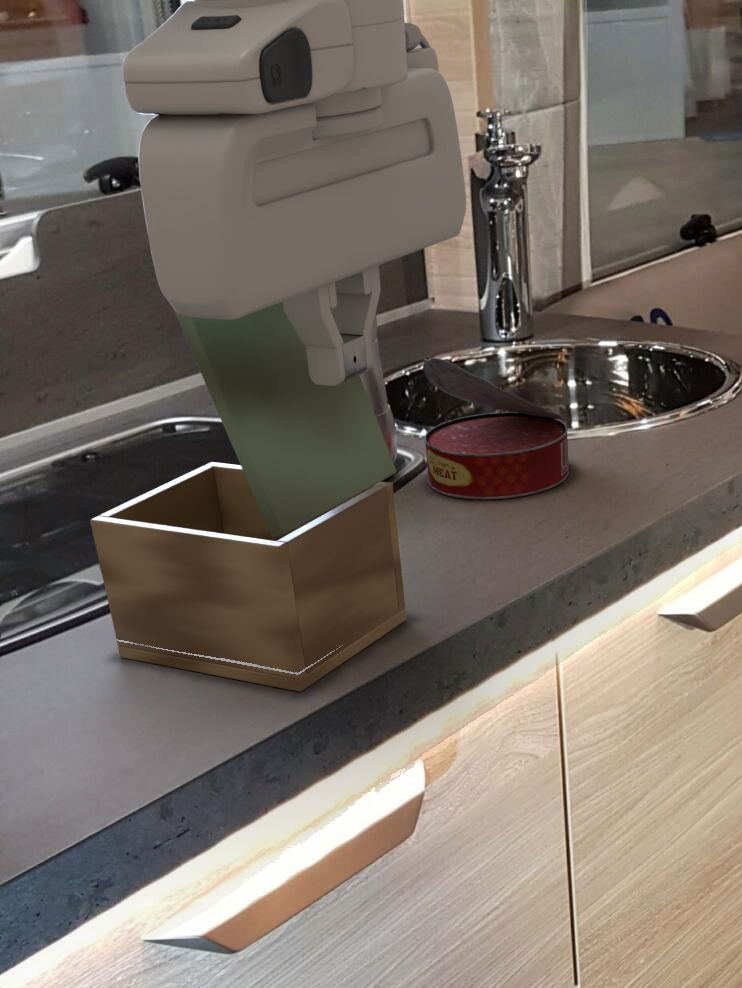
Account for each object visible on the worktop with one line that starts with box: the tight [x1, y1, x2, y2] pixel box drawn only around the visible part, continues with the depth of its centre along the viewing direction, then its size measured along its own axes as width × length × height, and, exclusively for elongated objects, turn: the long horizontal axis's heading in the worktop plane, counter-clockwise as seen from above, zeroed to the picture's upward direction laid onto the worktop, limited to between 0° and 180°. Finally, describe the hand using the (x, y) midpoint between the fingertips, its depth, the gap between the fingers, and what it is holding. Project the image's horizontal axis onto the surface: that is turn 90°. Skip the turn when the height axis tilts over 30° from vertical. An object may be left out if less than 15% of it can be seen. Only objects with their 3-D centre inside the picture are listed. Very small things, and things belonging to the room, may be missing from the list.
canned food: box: [422, 357, 570, 501], centre depth 106 cm, size 11×10×10 cm
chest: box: [89, 461, 408, 692], centre depth 84 cm, size 12×10×8 cm
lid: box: [173, 302, 397, 539], centre depth 76 cm, size 13×10×1 cm
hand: (342, 378), depth 75 cm, fingers closed
